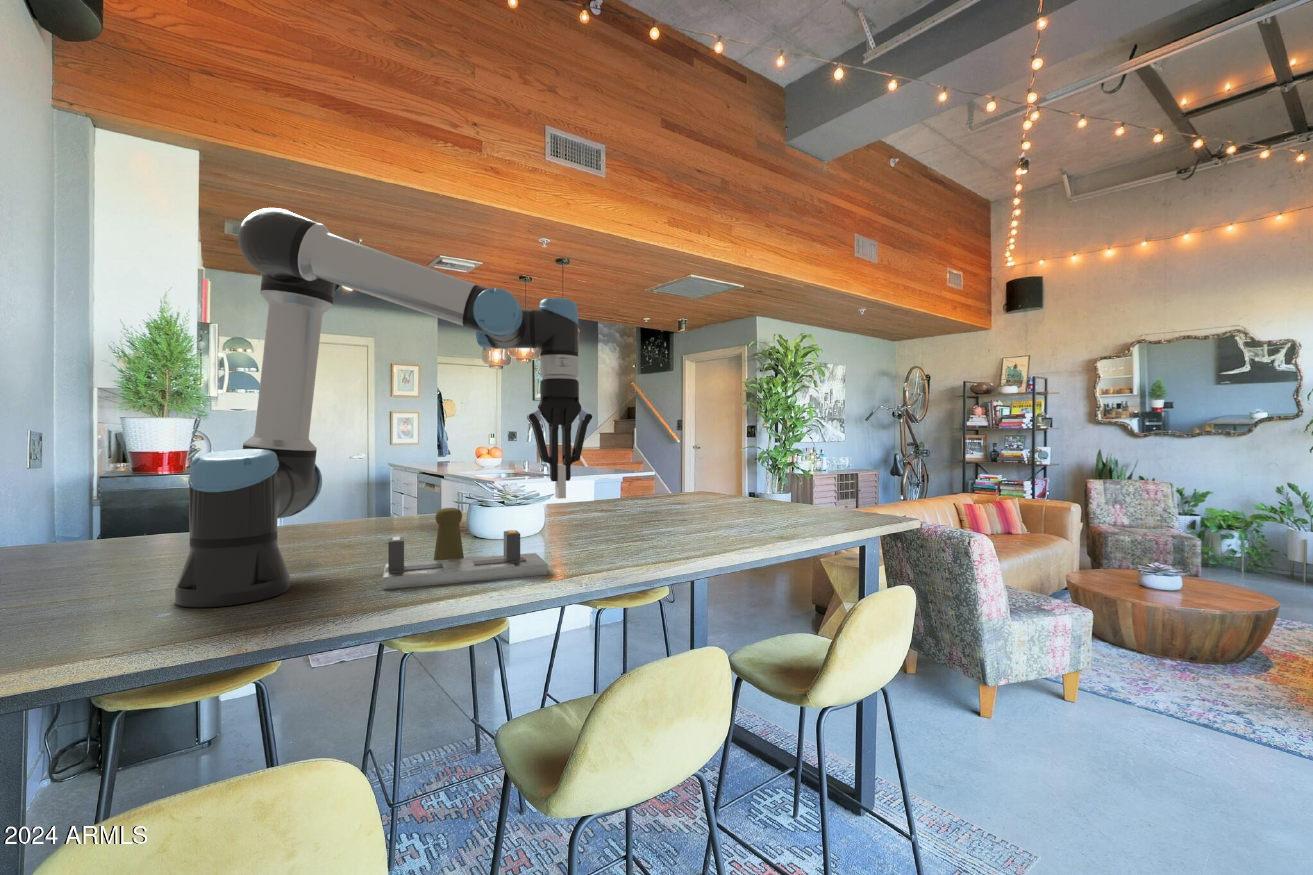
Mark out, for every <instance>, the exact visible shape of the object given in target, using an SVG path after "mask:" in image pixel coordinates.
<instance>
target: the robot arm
mask: <svg viewBox="0 0 1313 875" xmlns="http://www.w3.org/2000/svg"><path fill="white" fill-rule="evenodd" d="M237 234H238V235H237V241H238V242H237V243H238V247H239V250H240V252H241V255H242V256H243V257H244V259H245V261H246V262H247V263H248V264H249V265H250V266H251V267H252V268H253V269H254V270H256V271H257V272H258V273H260V274H261V281H260V291H259V292H260V293H259V294H260V295H261V297H263V298H264V300H265V302H267V303H268V309H267V318H266V329H265V337H264V345H263V347H264V348H263V355H262V364H261V373H260V381H259V391H258V400H257V408H256V417H255V418H256V419H255V426H254V428H255V429H254V434H253V435H252V436H251V437H249V438H248V439H247V440H245V441H244V442H243V443H242V448H240V449H239V448H238V449H228V450H218V451H211V452H206V453H202V454H200V455H197V456H195V457H194V458H193V459H192V461H191V462H190V464H189V467H190V468H189V475H188V477H187V484H188V500H189V501H188V509H189V510H188V511H189V513H188V514H189V517H188V518H189V520H188V521H189V529H188V530H189V552H188V554H187V557H186V560H185V563H184V565H183V568H182V570H181V572H180V574H179V575H180V576H179V578H178V580H177V583H176V585H175V589H174V599H175V600H174V603H175V604H176V605H177V606H180V607H186V608H215V607H218V608H219V607H224V606H225V607H227V606H228V607H229V606H235V605H236V606H237V605H243V604H248V603H252V602H253V603H254V602H257V601H258V602H259V601H262V600H266V599H267V600H268V599H271V598H274V597H277V596H280V595H283V594H284V593H286V592H287V591H289V590H290V588H291V587H290V586H291V581H290V580H291V576H290V572H289V570H288V567H287V565H286V562H285V559H284V557H283V554H282V551H281V550H280V547H279V543H278V522H279V521H278V520H279V519H285V518H288V517H292V516H294V515H297V514H299V513H301V512H302V511H304V510H306V509H307V508H309V507H310V506H311V505H312V504H313V503H315V501H316V500H317V498H318V497H319V495H320V493H321V490H322V486H323V477H322V472H321V469H320V468H319V467H318V465H317V464H316V459H317V450H318V449H317V447H316V446H315V444H314V443H312V441H311V440H310V429H311V424H312V423H311V420H312V411H313V403H314V394H315V384H316V383H315V382H316V376H317V375H316V374H317V366H318V365H317V364H318V358H319V349H320V341H321V331H322V323H323V315H324V313H326V312H328V311H329V310H330V309H333V307H334V300H335V299H334V298H335V294H336V293H337V292H338V291H339V290H341V288H342V287H344V288H348V289H350V290H354V291H357V292H360V293H363V294H366V295H370V296H372V297H375V298H379V299H381V300H384V301H386V302H390V303H393V304H396V305H398V306H401V307H402V306H403V307H406V308H408V309H412V310H415V311H417V312H420V313H424V314H426V315H429V316H432V317H435V318H438V319H442V320H445V321H448V322H450V323H454V324H457V325H460V326H463V327H465V328H468V329H470V330H473V331H475V338H476V342H477V344H478V346H480V347H481V348H490V349H491V348H492V349H495V350H498V349H539V356H540V358H539V359H540V360H539V361H540V363H539V365H540V366H539V368H540V369H539V370H540V371H539V372H540V373H539V375H540V376H541V377H542V379H541V380H540V382H539V383H540V396H539V397H540V401H539V403H538V404H537V409H536V410H534V411H533V412H530V413H527V415H526V419H527V420H528V422H529V423H530V426H532V430H533V433H534V434H533V435H534V439H535V442H536V446H537V451H538V455H539V459H540V461H542V462H543V463H547V464H549V479H550V482H555V483H554V484H555V485H554V490H555V491H554V493H555V494H554V497H555V499H567V482H569V481H570V480H571V470H572V469H571V468H572V467H571V466H572V464H573V463H575V462H579V461H580V460H581V456H582V450H583V446H584V443H585V437H586V432H587V429H588V425H589V424H590V422H591V420H592V418H593V415H592V414H591V413H587V412H586V411H584V409H582V405H581V403H580V393H579V392H580V387H579V386H580V385H579V384H580V382H579V380H578V379H576V378H578V377H579V376H580V374H579V371H580V370H579V314H578V311H579V310H578V306H577V304H576V302H575V301H574V300H571V299H568V298H563V297H552V298H550V297H549V298H543V299H541V301H540V302H539V307H538V309H537V308H536V309H522V307H521V303H519V301H518V299H517V298H516V297H515V296H513V294H512V293H511V292H509V291H507V290H506V289H502V288H499V287H491V288H488V287H484V286H481V285H479V284H476V283H473V282H471V281H467V280H466V279H465V280H464V279H461V278H458V277H456V276H452V275H450V274H447V273H444V272H442V271H438V270H436V269H432V268H431V267H428V266H425V265H424V266H423V265H421V264H418V263H415V262H413V261H409V260H407V259H405V258H401V257H399V256H395V255H393V254H390V253H386V252H383V251H381V250H378V249H375V248H372V247H369V246H367V245H364V244H362V243H358V242H355V241H352V240H351V239H350V240H349V239H346V238H344V237H341V236H338V235H335V234H333V233H331V232H330V230H329V229H328V227H327V226H326V225H324V224H323V223H320V222H317V221H313V220H311V219H309V218H306V217H303V216H301V215H298V214H297V213H293V212H291V211H289V210H287V209H283V208H276V207H268V208H267V207H266V208H265V207H264V208H261V209H259V210H256V211H253V212H252V213H250V214H249V215H247V217H245V218H244V220H242V222H241V225H240V227H239V230H238V233H237ZM542 417H543V419H544V420H545V421H546V423H547V425H548V431H549V432H548V433H549V434H548V437H549V439H548V440H549V441H548V442H549V443H548V444H549V451H548V448H547V443H546V440H545V436H544V433H543V428H542V425H541V422H540V421H541V420H542ZM577 417H578V421H579V422H578V425H577V430H576V434H575V437H574V438H575V439H574V443H573V446H572V424H573V423H574V422H575V420H576V418H577ZM559 426H561V427H560V428H561V457H562V458H561V460H562V461H561V462H562V464H559ZM548 452H549V453H548Z"/></svg>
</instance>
